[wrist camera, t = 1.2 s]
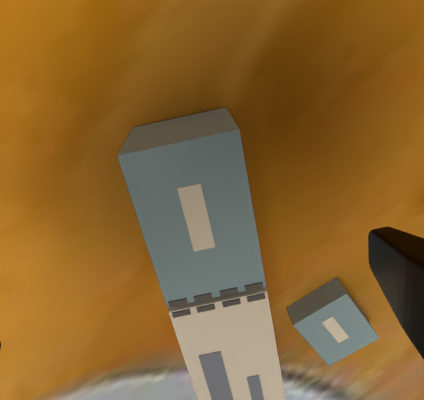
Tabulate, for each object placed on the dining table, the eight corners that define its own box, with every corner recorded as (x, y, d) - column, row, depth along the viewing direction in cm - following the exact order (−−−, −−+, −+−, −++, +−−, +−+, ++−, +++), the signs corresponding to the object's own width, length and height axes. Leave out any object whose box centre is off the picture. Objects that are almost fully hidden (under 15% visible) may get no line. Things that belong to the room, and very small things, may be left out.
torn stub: (366, 317, 26) (380, 339, 24) (319, 343, 27) (329, 366, 25) (334, 274, 24) (347, 294, 23) (284, 304, 25) (293, 326, 23)
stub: (249, 236, 22) (266, 287, 18) (170, 254, 22) (167, 308, 18) (226, 107, 19) (239, 129, 14) (132, 127, 19) (116, 156, 14)
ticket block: (272, 361, 27) (290, 429, 22) (207, 375, 27) (212, 445, 22) (249, 238, 22) (267, 292, 18) (171, 255, 22) (168, 312, 18)
